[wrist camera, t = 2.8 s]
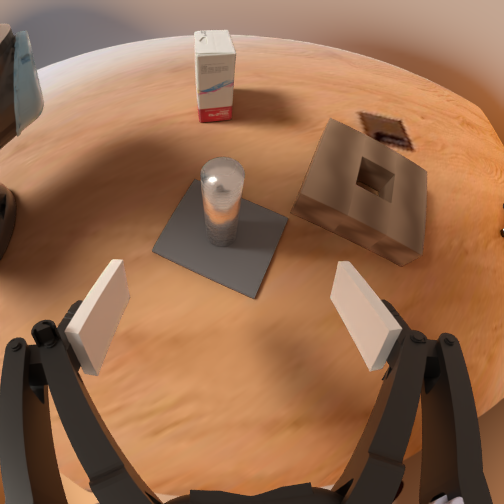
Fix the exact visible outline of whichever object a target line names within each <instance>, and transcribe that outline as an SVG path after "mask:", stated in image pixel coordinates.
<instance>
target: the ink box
mask: <svg viewBox="0 0 504 504" xmlns="http://www.w3.org/2000/svg"><path fill="white" fill-rule="evenodd" d="M194 40H195V77H196V94H197V103H198V114H199V122H211V121H221V120H229V119H231V117H232V103H233V87H234V73H235V61H236V51H235V48H234V45H233V42H232V39H231V36H230V34H229V31H228V30H206V31H196V32H194Z"/></svg>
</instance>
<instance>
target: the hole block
mask: <svg viewBox="0 0 504 504" xmlns="http://www.w3.org/2000/svg"><path fill="white" fill-rule="evenodd" d="M357 180H358V181H360V182H362V183H364V184H366V185H368V186H370V187H372V188H373V189H375V190H377V191H379V196H377V195H375V194H373V193H371V192H369V191H367V190H366V189H364V188H362V187H360V186H358V185H356V181H357ZM426 207H427V171H426V170H424V169H423V168H421V167H420V166H418V165H417V164H415V163H413V162H412V161H410V160H409V159H407V158H405V157H404V156H402V155H400V154H399V153H397V152H395V151H394V150H392V149H390V148H389V147H387V146H385V145H383V144H381V143H380V142H378V141H376V140H374V139H372V138H370V137H369V136H367V135H365V134H363V133H361V132H359V131H357V130H355V129H353V128H351V127H349V126H347V125H345V124H343V123H340V122H338V121H336V120H334V119H332V118H330V119H329V121H328V123H327V125H326V127H325V130H324V132H323V134H322V136H321V138H320V141H319V143H318V146H317V148H316V151H315V153H314V156H313V158H312V161H311V163H310V166H309V168H308V171H307V173H306V176H305V178H304V181H303V183H302V186H301V188H300V191H299V193H298V196H297V198H296V201H295V203H294V205H293V208H292V210H291V213H292V214H294V215H296V216H299V217H301V218H303V219H305V220H307V221H310V222H312V223H314V224H316V225H318V226H320V227H322V228H325V229H327V230H329V231H331V232H333V233H335V234H337V235H339V236H341V237H344V238H346V239H348V240H350V241H352V242H354V243H356V244H358V245H360V246H362V247H364V248H366V249H368V250H370V251H372V252H374V253H376V254H378V255H380V256H382V257H384V258H386V259H388V260H390V261H392V262H393V263H395V264H397V265H399V266H401V267H402V266H404V265H406V264H408V263H410V262H411V261H413V260H415V259H417V258H419V257H421V256H422V255H423V246H424V236H425V224H426Z"/></svg>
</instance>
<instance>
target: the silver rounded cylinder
mask: <svg viewBox="0 0 504 504" xmlns="http://www.w3.org/2000/svg"><path fill="white" fill-rule="evenodd" d="M200 176H201V186H202V197H203V206H204V216H205V225H206V233H207V238H208V240H209V242H210V243H211V244H212V245H214V246H216V247H226V246H229V245H230V244H232V243H233V241H234V240H235V238H236V232H237V225H238V218H239V211H240V204H241V198H242V191H243V184H244V178H245V172H244V169H243V167H242V165H241V164H240V163H239V162H238V161H236V160H234V159H232V158H228V157H217V158H214V159H211V160H209V161H208V162H207V163H206V164H205V165H204V166H203V167H202V170H201V175H200Z"/></svg>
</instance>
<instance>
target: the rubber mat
mask: <svg viewBox="0 0 504 504" xmlns="http://www.w3.org/2000/svg"><path fill="white" fill-rule="evenodd" d="M287 220H288V218H287V217H285V216H282V215H280V214H278V213H275V212H273V211H271V210H269V209H266V208H264V207H262V206H259V205H257V204H255V203H252V202H250V201H248V200H245V199H243V198H241V204H240V211H239V218H238V225H237V232H236V238H235V240H234V241H233V243H232V244H230V245H229V246H226V247H216V246H214V245H212V244H211V243H210V242H209V240H208V238H207V233H206V225H205V216H204V206H203V197H202V186H201V181H198V180H196V179H194V181H193V183H192V184H191V186H190V187H189V189H188V190H187V192H186V194H185V195H184V197H183V198H182V200H181V201H180V203H179V205H178V206H177V208H176V210H175V211H174V213H173V215H172V216H171V218H170V220H169V221H168V223H167V225H166V226H165V228H164V230H163V231H162V233H161V235H160V237H159V238H158V240H157V242H156V244H155V245H154V247H153V249H152V252H154V253H156V254H158V255H160V256H162V257H164V258H166V259H168V260H170V261H172V262H174V263H177V264H179V265H181V266H183V267H185V268H187V269H189V270H191V271H193V272H195V273H198V274H200V275H202V276H204V277H206V278H208V279H210V280H213V281H215V282H217V283H219V284H221V285H224V286H226V287H228V288H230V289H232V290H235V291H237V292H239V293H241V294H244V295H246V296H248V297H250V298H253V299H254V298H255V296H256V293H257V291H258V289H259V286H260V284H261V282H262V280H263V277H264V275H265V273H266V270H267V268H268V266H269V263H270V261H271V258H272V256H273V254H274V251H275V249H276V247H277V244H278V242H279V239H280V237H281V235H282V232H283V230H284V228H285V225H286V223H287Z"/></svg>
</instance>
